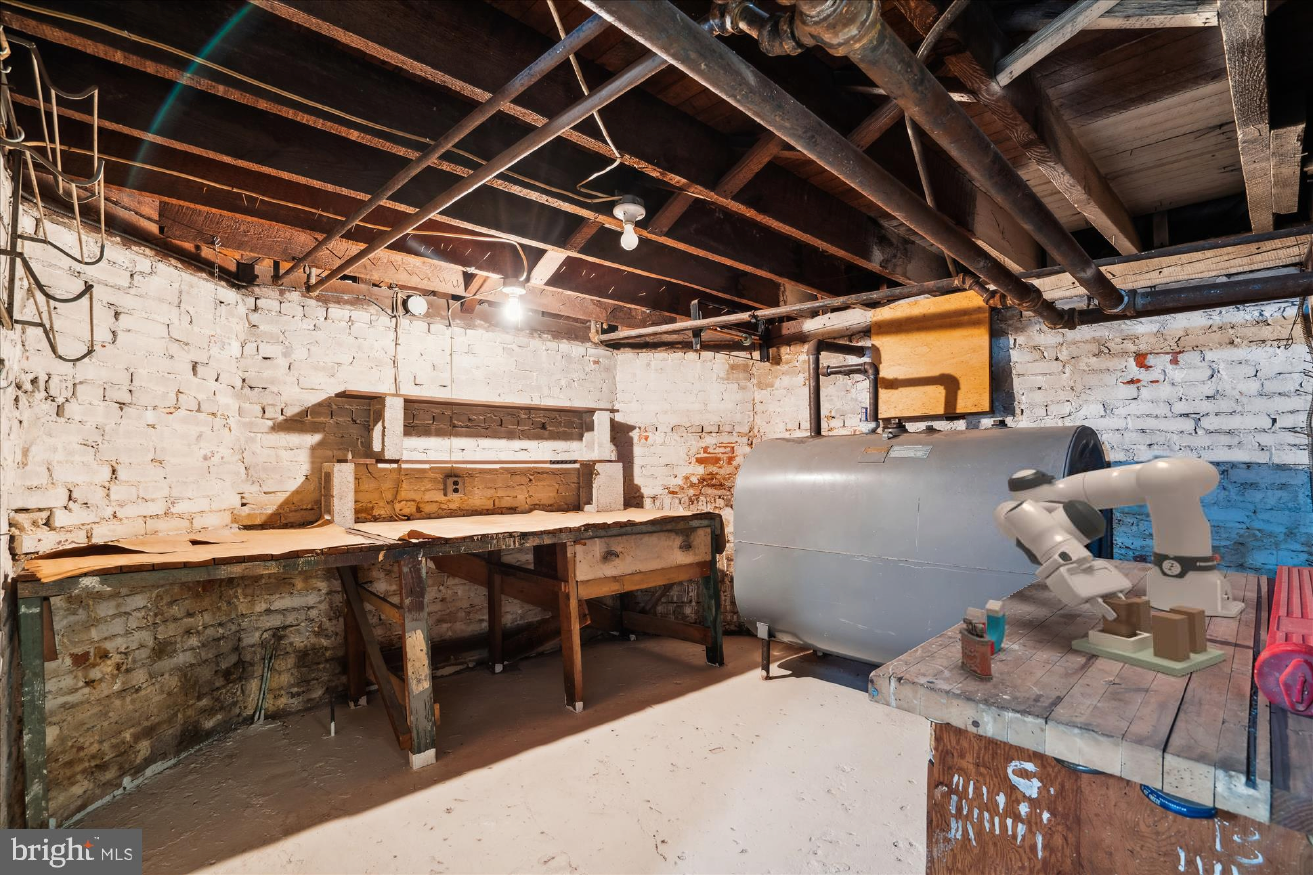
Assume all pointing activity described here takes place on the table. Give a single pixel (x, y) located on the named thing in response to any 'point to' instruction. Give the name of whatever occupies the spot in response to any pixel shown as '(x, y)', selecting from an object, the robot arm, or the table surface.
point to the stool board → (1151, 659)
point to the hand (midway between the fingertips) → (1122, 616)
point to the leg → (1121, 618)
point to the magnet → (991, 622)
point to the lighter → (975, 649)
